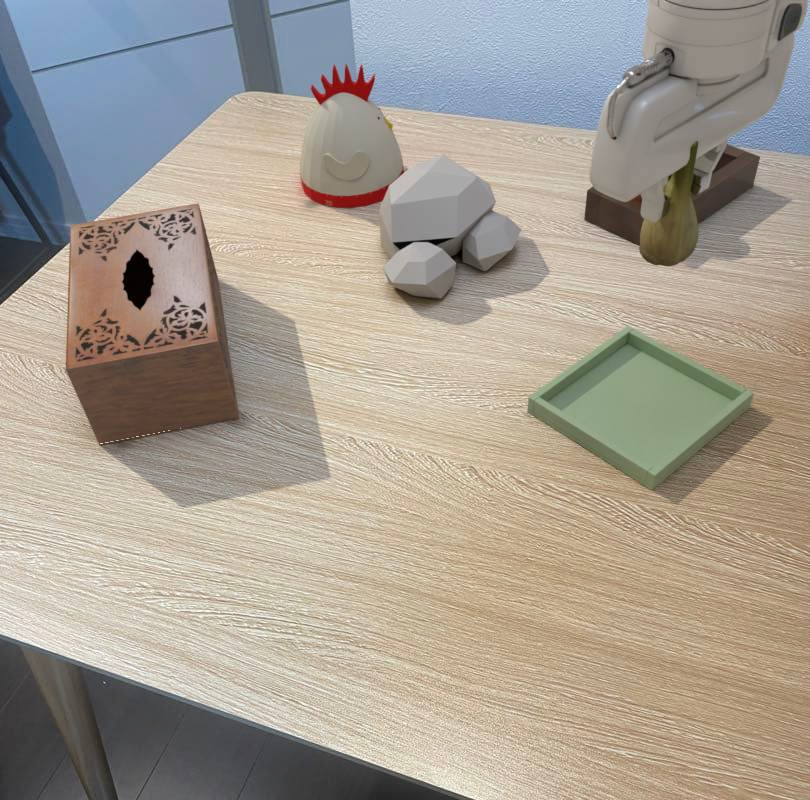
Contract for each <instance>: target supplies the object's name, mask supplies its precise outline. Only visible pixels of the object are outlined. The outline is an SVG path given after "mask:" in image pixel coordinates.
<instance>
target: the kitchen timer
mask: <svg viewBox="0 0 810 800" xmlns="http://www.w3.org/2000/svg"><path fill="white" fill-rule="evenodd" d="M357 74H358V75H357V79H356V81H354V80H353V79H352V75H351V72H350V69H349V67H348V64H347V63H345V66H344V80H343V82H342V81H341V78H340V75H339V72H338V69H337V67H336V65H335V64H333V65H332V79H331V80H332V81H331V83H330V81H329V80H328V79H327V78H326V76H325V75H324V74H321V75H320V81H321V84H322V87H323V89H324V93H321V92H319V91H318V89H317V88H316V87H315V85H313V84H311V85H310V91H311V92H312V95H313V97H314V98H315V100H316V102H317V106H316V107H315V109H314V110H313V111H312V114H311V115H310V116H309V119H308V122H307V124H306V126H305V131H304V134H303V140H302V146H301V153H300V161H299V174H300V175H299V176H300V183H301V188H302V190H303V192H304V194H305V195H306V196H307V197H308V198H309V199H310V200H311V201H313V202H315V203H318V204H320V205H323V206H327V207H332V208H349V209H352V208H359V207H366V206H371V205H373V204H376V203H379V202H383V199H384V197H385V194H386V192H387V190H388V187H389V185H391V184H392V183H393V182H394V181H395V180H396V179H398V178H399V177H400V176H401V175H402V174H403V173H405V171H404V160H403V154H402V151H401V148H400V146H399V142H398V141H397V137H396V135H395V133H394V130H393V127H394V126H393V124H392V123H391V122H390V121H389V120H388V119H387V117H386V116H385V114H384V113H383V111H382V110H381V108H380V107H379V106H378V105H377V104H376V103H375V102H374V101H373V100H372V99H370V98H369V97H370V95H371V92H372V90H373V87H374V84H375V80H376V73H373V75H372V76H371V78H370V79H369V80H368V81H365V74H364V67H363V64H360V65H359V69H358V73H357Z"/></svg>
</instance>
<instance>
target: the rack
mask: <svg viewBox="0 0 810 800" xmlns="http://www.w3.org/2000/svg"><path fill="white" fill-rule="evenodd" d="M760 160H761V156H759V155H757V154H755V153H752V152H749V151H747V150H744V149H741V148H738V147H736V146H733V145H730V144H728V143H727V145H726V148H725V150H724V152H723V154H722V156H721V157H720V159H719V161H718V163H717V165H716V167H715V169H714V170H713V172H712V176H711V181H710V185H709V187H708V189H706V190H704V191H703V192H701V193H700V194H698V195H696V196H695V195H692V194H691V193H690V196H691V199H692V202H693V205H694V209H695V212H696V217H697V222H698V225H699V224H700V223H702V222H703V221H705V220H707V219H708V218H709V217H710V216H712V215H714V214H715V213H717V212H718V211H719V210H721V209H722V208H724V207H725V206H726V205H728V204H729V203H731V202H733V201H734V200H735V199H737V198H738V197H740V196H741V195H743V194H744V193H745V192H747V191H749V190H750V189H752V188H754V185H755V180H756V176H757V173H758V168H759V164H760ZM585 197H586V198H585V208H584V218H583V220H584V221H585V222H586V221H587V222H589V223H590V224H593V225H595V226H597V227H599V228H601V229H603V230H606V231H608V232H610V233H611V234H613V235H616V236H618V237H620V238H622V239H624V240H627V241H629V242H631V243H634V244H635V245H637V246H640V233H641V228H642V225H643V221H644V218H643V217H642V216H641V205H642V203H640V202H638V201H636V200H633V199H631V200H630V201H627V202H622V201H619V200H617V199H614V198H612V197H609V196H607V195H605V194H603V193H601V192H599V191H597V190H596V189H595V188H594V187H593V186H591V187H590V188H588V189H587V190H586V196H585Z"/></svg>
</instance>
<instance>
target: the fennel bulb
mask: <svg viewBox="0 0 810 800" xmlns="http://www.w3.org/2000/svg"><path fill="white" fill-rule="evenodd" d="M690 149H691V150H690V159H689V161H688V164H687V165H686V166H684V167H682V168H681V169H679V170H678V171H676V172H674V173H673V174H671V175H670V176H669V177H668V183H667V184H666V185H665V186H663V187H662V188H663V192H664V195H666V196H668V197H671V201H670V206H669V208H668V209H669V211H668V214H667V215H666V216H664V217H663V218H661V219H660V220H659V221H657V222H655V223H653V222H651V221H649V220H646V219H644V221H643V225H642V228H641V233H640V246H639V245H638V246H639V247H638V250H639V251H638V252H639V254H640V255H641V258H642V259H644V260H645V262H647V263H649V264H651V265H653V266H663V267H675V266H677V265H679V264H680V263H682V262H684V261H685V260H687V259H688V258H690V256H691V255H692V254H693V253H694V251H695V250H696V247H697V244H698V240H699V235H700V234H699V233H700V232H699V231H700V229H699V224H698V222H697V217H696V212H695V209H694V205H693V202H692V199H691V196H690V190H691V183H692V177H693V171H694V166H695V160H696V155H697V149H698V141H696V142H695V143H694V144H693V145H692V146H691V148H690Z"/></svg>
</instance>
